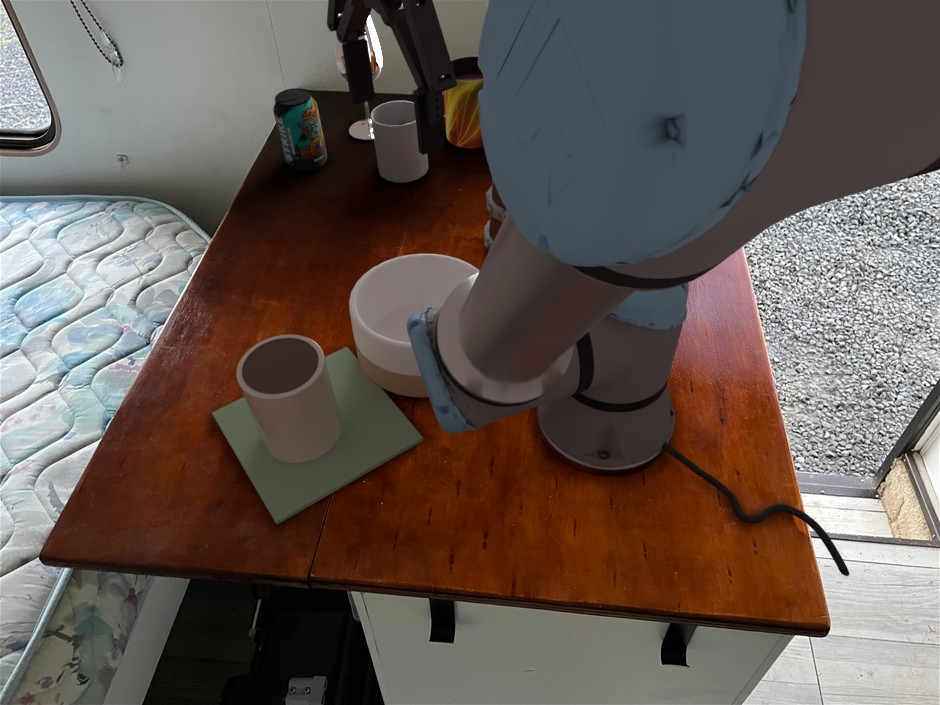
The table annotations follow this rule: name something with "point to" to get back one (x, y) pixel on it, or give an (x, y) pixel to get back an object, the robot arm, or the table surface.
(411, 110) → the cup
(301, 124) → the beverage can
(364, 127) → the wineglass
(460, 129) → the mug
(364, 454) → the mat
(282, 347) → the tumbler
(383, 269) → the bowl
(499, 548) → the table surface
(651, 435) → the robot arm
